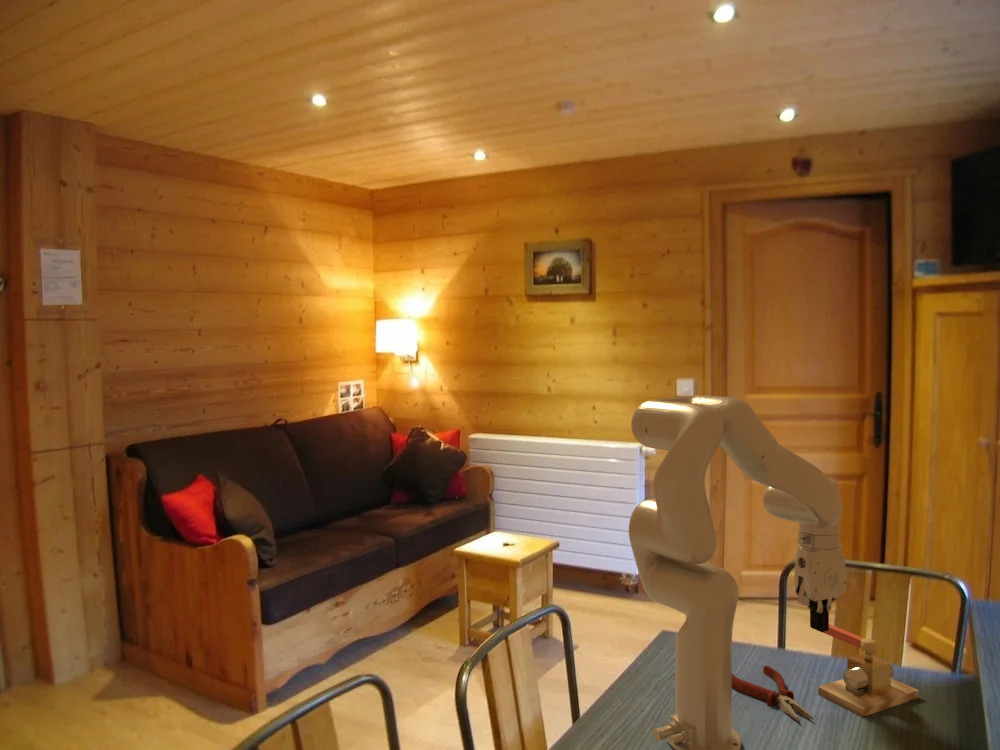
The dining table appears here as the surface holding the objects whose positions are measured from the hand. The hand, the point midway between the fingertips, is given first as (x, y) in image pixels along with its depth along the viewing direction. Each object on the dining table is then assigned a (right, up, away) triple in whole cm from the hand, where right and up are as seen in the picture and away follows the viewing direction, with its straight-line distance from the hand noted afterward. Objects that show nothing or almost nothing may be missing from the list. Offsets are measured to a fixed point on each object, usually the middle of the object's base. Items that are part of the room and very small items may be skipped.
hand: (819, 629), depth 148 cm
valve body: (+8, -10, -3) cm, 14 cm away
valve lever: (+6, -3, +1) cm, 6 cm away
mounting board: (+8, -12, -3) cm, 15 cm away
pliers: (-12, -13, -3) cm, 18 cm away
